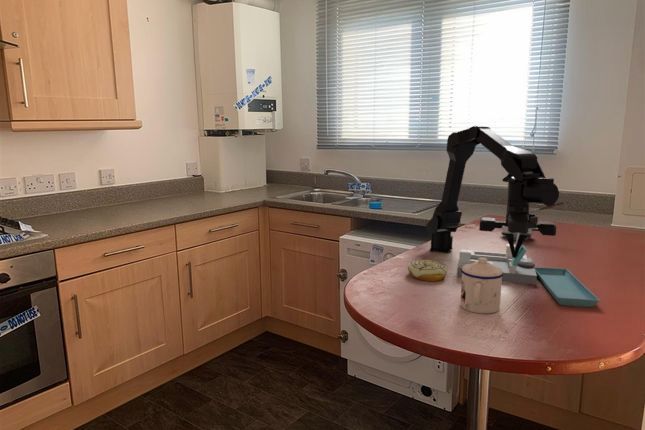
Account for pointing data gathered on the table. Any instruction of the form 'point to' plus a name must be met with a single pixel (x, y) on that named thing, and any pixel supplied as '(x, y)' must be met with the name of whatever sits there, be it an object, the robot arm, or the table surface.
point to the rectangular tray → (566, 287)
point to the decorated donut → (427, 270)
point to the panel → (507, 267)
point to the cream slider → (509, 251)
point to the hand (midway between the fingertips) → (513, 257)
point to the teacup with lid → (481, 287)
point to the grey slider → (465, 256)
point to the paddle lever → (518, 256)
